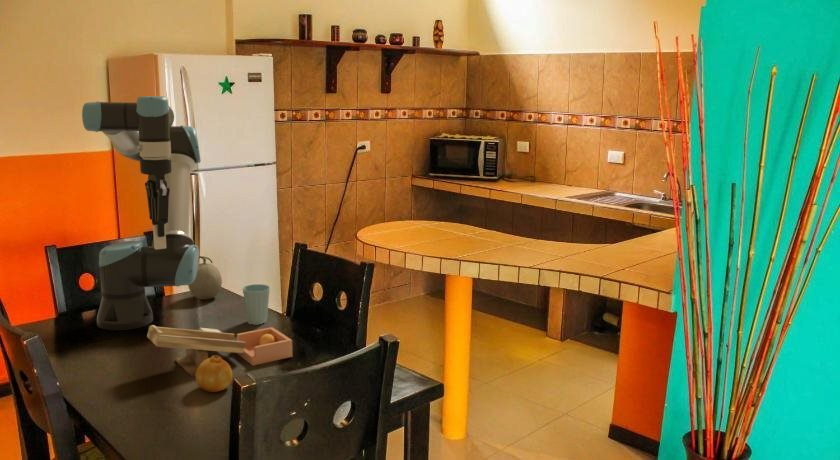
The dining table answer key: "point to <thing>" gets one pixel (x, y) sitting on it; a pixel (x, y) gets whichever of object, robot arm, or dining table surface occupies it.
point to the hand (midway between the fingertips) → (160, 248)
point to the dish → (264, 346)
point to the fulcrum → (192, 360)
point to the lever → (195, 339)
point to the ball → (266, 339)
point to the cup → (256, 303)
